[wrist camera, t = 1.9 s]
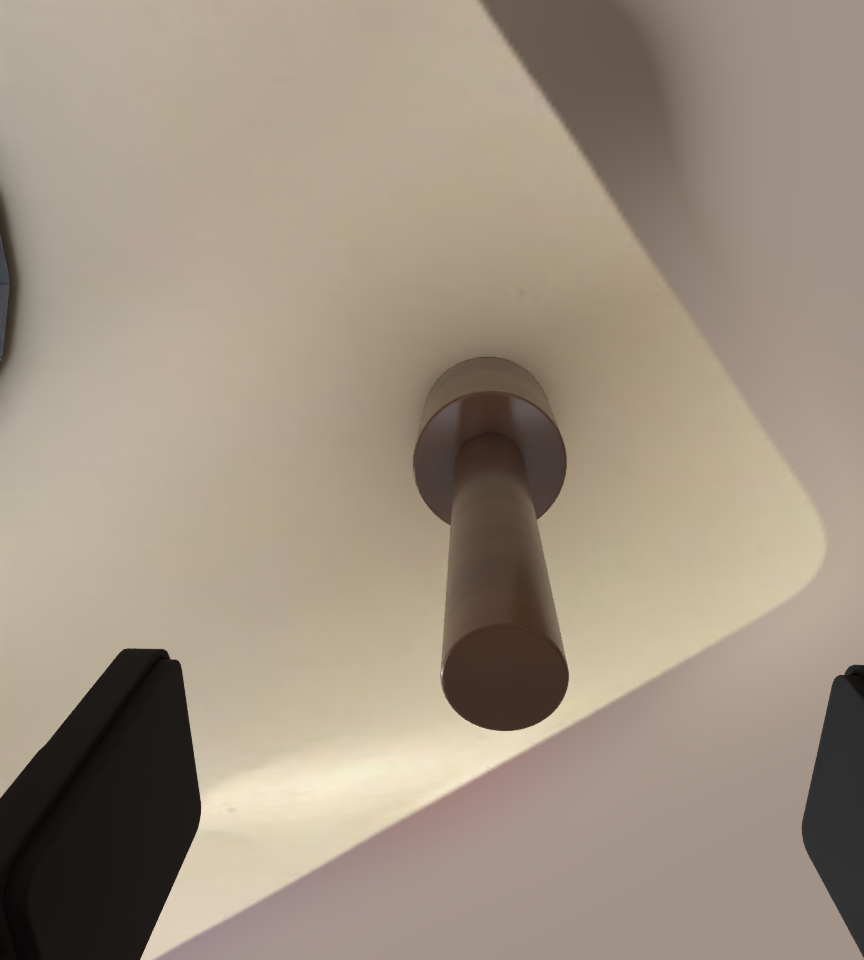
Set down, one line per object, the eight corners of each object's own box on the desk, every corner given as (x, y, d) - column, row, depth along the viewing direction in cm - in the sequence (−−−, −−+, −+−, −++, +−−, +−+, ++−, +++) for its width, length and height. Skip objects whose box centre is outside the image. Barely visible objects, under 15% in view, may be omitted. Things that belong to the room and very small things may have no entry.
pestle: (422, 356, 25) (358, 550, 11) (552, 356, 24) (663, 556, 10) (424, 476, 26) (368, 786, 12) (546, 478, 26) (634, 795, 12)
